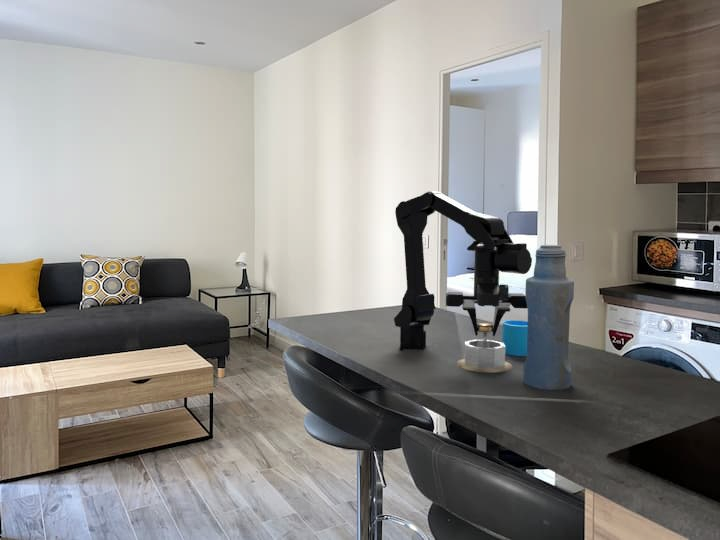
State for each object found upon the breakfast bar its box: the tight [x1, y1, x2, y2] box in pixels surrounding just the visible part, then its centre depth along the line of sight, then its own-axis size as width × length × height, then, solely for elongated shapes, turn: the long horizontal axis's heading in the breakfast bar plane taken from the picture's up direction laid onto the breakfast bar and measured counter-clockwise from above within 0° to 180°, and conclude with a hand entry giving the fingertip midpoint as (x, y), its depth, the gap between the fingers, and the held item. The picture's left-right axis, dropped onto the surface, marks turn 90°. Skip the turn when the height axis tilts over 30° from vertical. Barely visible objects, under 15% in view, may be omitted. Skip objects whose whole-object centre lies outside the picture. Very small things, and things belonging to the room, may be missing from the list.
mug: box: [501, 319, 528, 357], centre depth 149 cm, size 12×8×8 cm
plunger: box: [477, 322, 493, 348], centre depth 134 cm, size 6×6×7 cm
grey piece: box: [463, 338, 506, 370], centre depth 136 cm, size 9×12×5 cm
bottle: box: [522, 244, 575, 391], centre depth 119 cm, size 10×10×30 cm
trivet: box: [456, 358, 513, 373], centre depth 134 cm, size 13×13×1 cm
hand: (484, 335), depth 134 cm, fingers closed on plunger, 4 cm apart
